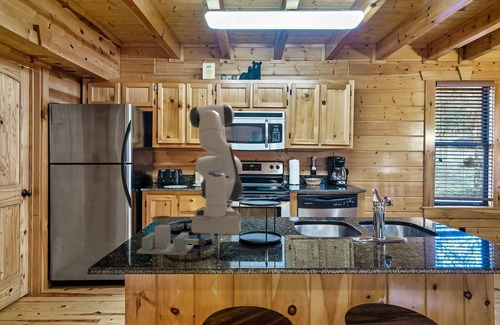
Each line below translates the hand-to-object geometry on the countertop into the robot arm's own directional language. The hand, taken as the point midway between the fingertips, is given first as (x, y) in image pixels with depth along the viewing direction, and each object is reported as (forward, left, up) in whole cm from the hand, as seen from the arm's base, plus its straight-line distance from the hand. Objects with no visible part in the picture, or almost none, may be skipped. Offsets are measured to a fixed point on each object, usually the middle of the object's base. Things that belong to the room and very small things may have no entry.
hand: (216, 244), depth 134 cm
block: (+9, -21, -2) cm, 23 cm away
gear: (-2, -37, -3) cm, 37 cm away
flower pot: (-9, -41, -3) cm, 42 cm away
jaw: (+4, -10, -2) cm, 11 cm away
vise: (+9, -20, -3) cm, 22 cm away
